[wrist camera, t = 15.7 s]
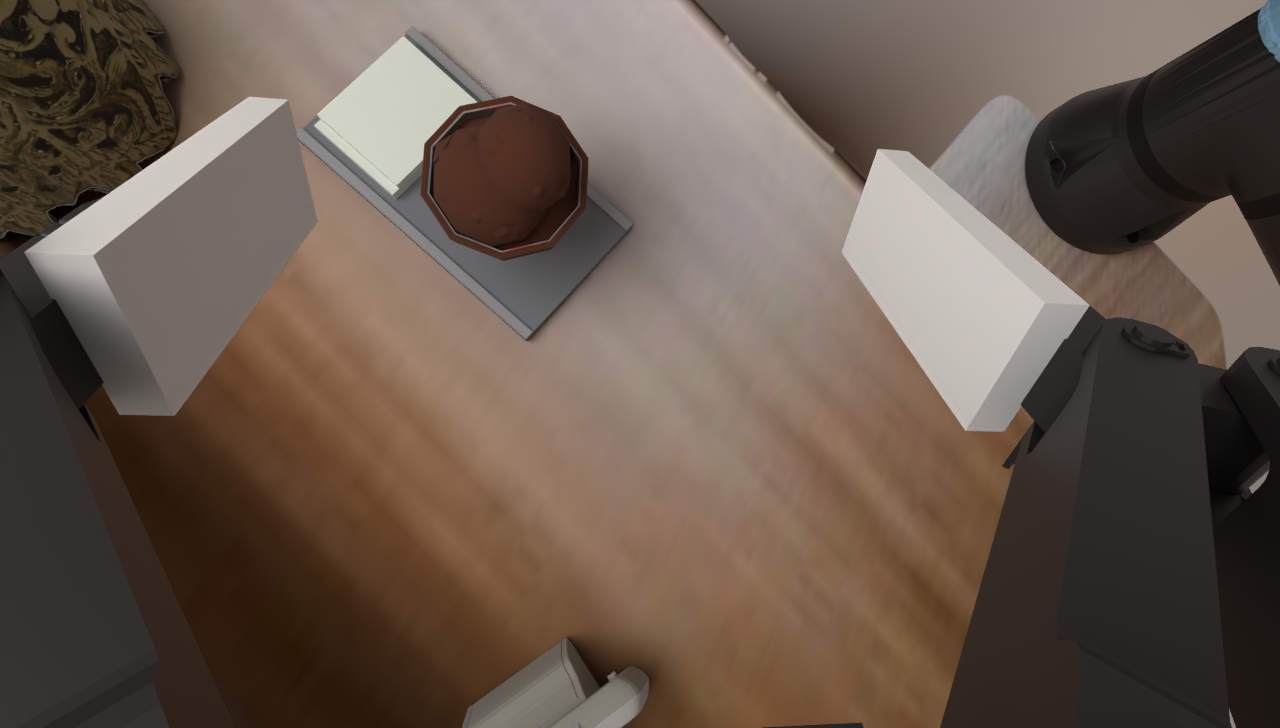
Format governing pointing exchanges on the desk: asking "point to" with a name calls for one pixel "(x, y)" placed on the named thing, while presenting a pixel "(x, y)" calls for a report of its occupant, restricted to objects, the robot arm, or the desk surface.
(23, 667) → the robot arm
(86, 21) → the lamp shade
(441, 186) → the ice cream bowl
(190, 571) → the desk surface
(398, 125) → the pale green flat block
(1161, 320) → the desk surface
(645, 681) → the digital clock
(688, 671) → the desk surface
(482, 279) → the tray
